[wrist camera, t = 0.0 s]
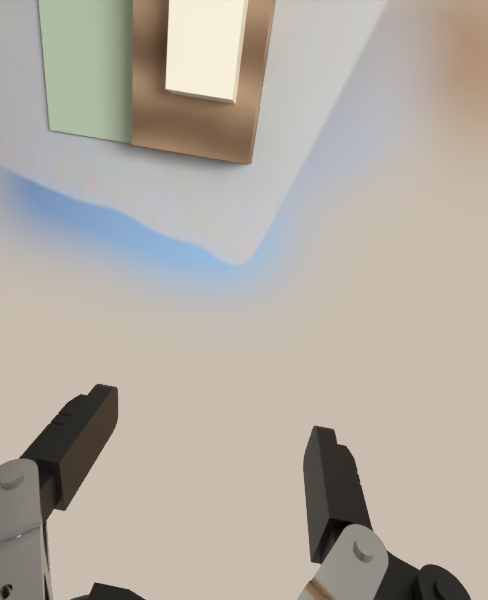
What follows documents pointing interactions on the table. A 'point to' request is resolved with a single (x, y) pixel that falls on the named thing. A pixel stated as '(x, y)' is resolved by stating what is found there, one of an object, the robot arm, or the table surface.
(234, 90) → the tile
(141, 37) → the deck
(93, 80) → the mat
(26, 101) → the table surface
